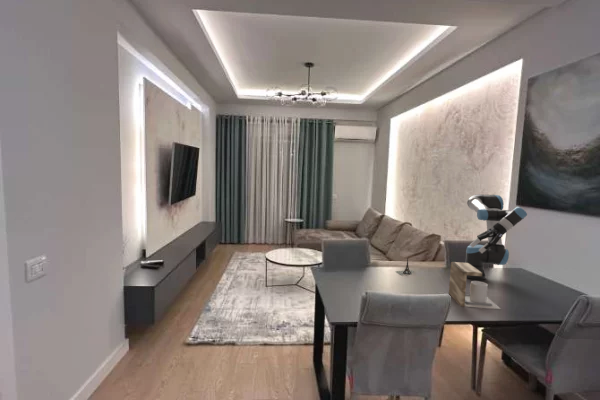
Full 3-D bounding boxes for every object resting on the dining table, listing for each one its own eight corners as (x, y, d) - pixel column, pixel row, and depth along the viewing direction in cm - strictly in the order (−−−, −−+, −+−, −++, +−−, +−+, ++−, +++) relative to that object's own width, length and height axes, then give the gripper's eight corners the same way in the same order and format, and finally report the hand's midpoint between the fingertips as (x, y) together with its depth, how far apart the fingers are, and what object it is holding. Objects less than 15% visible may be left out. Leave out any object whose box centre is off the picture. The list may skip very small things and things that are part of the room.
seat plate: (484, 295, 197) (484, 293, 197) (500, 309, 177) (500, 306, 177) (453, 293, 199) (454, 291, 199) (466, 306, 180) (466, 304, 179)
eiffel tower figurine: (412, 271, 246) (413, 254, 245) (419, 275, 236) (420, 257, 235) (394, 271, 243) (395, 254, 242) (401, 276, 233) (402, 258, 232)
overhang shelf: (465, 294, 198) (468, 262, 197) (479, 307, 179) (482, 272, 177) (448, 293, 200) (450, 261, 198) (460, 306, 180) (463, 271, 178)
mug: (476, 296, 195) (477, 278, 194) (489, 304, 183) (491, 285, 182) (462, 296, 194) (464, 279, 193) (475, 304, 182) (477, 285, 181)
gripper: (517, 235, 190) (488, 258, 193) (497, 227, 214) (471, 247, 218) (508, 226, 190) (479, 249, 193) (489, 219, 214) (464, 239, 218)
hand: (475, 248), depth 206 cm, fingers open, 13 cm apart
